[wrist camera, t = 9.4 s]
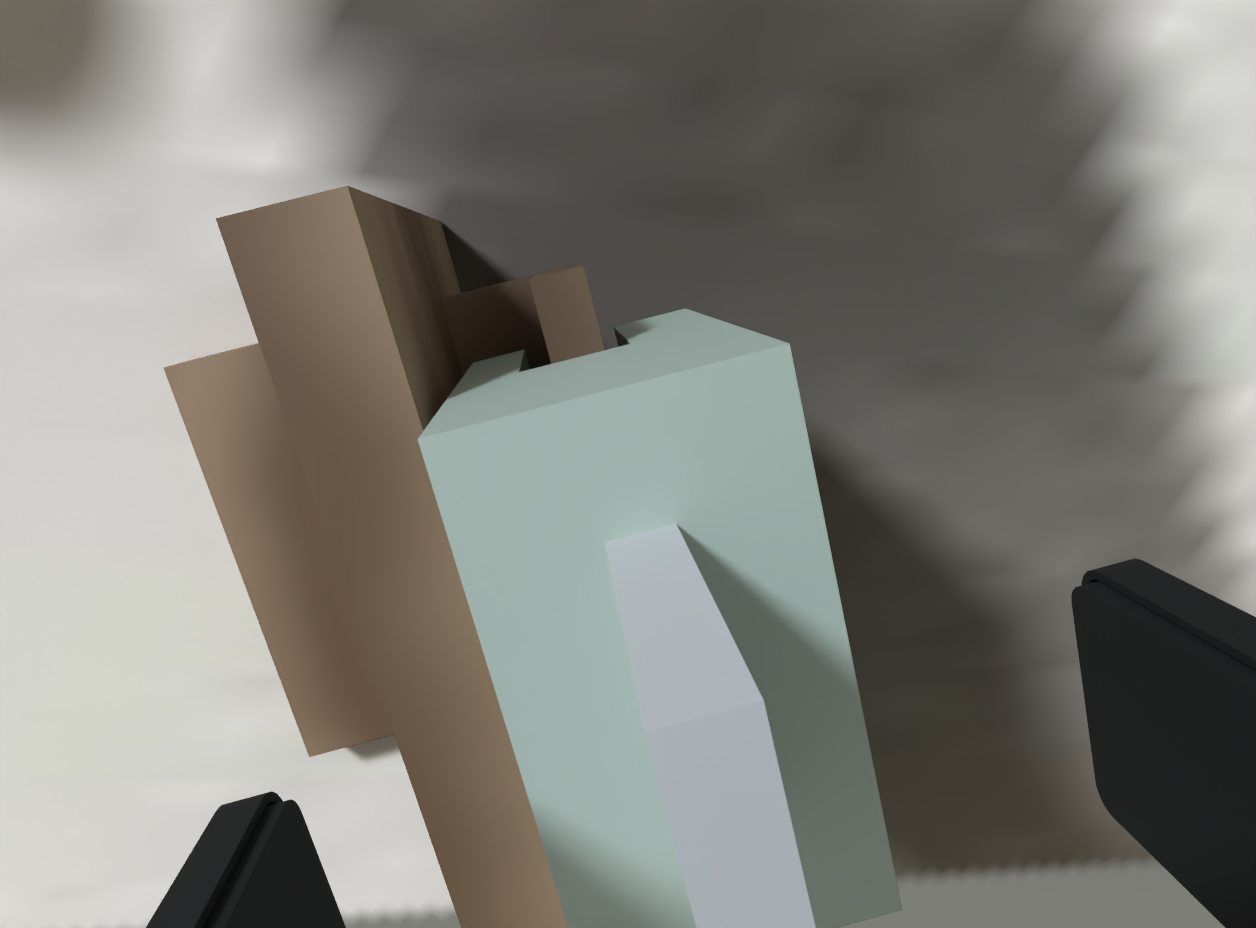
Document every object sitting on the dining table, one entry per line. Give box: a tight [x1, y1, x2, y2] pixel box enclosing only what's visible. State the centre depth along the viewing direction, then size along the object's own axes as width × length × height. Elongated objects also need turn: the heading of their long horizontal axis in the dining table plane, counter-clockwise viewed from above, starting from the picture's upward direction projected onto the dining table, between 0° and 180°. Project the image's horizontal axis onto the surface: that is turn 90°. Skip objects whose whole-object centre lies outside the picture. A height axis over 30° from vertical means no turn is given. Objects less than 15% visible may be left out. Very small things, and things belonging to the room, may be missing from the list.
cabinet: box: [418, 309, 902, 928], centre depth 15 cm, size 5×9×14 cm, turn 14°
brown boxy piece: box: [164, 186, 605, 928], centre depth 21 cm, size 11×16×12 cm
